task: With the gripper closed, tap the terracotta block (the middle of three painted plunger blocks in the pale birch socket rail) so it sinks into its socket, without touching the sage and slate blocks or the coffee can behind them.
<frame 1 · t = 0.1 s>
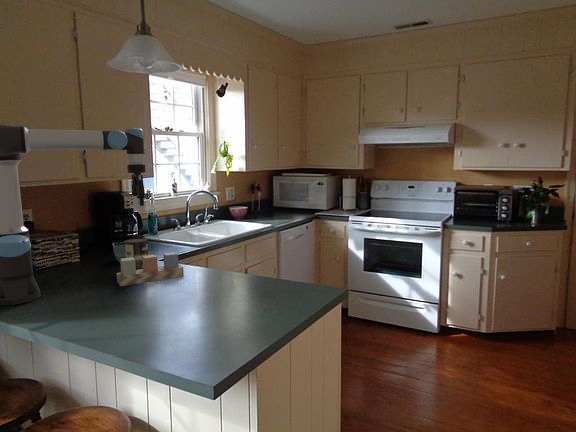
hand: (139, 211, 197), 28 cm above the worktop, fingers open, 13 cm apart
sage block: (128, 267, 183), point 7 cm above the worktop, slide at 0.0 cm
socket rail: (151, 279, 188), on the worktop
slate block: (171, 261, 192), point 7 cm above the worktop, slide at 0.0 cm
coffee can: (138, 270, 205), on the worktop
flower pot: (123, 261, 224), on the worktop
terracotta block: (150, 264, 187), point 7 cm above the worktop, slide at 0.0 cm
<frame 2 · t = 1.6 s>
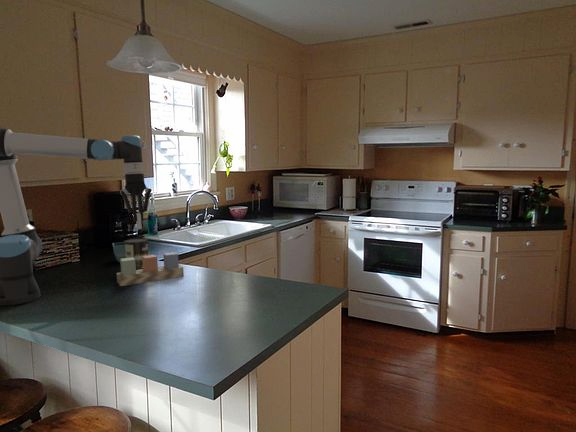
hand: (139, 228, 187), 22 cm above the worktop, fingers closed
nothing on the worktop moved.
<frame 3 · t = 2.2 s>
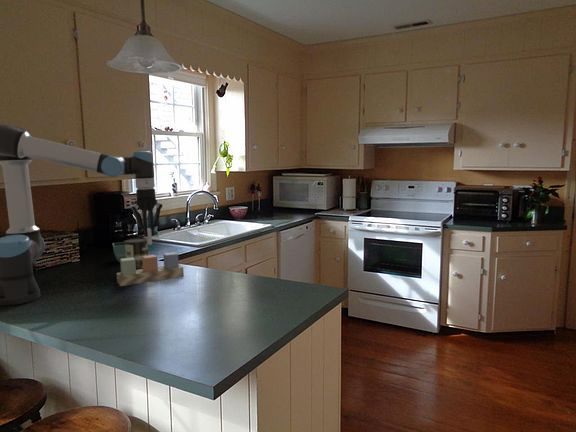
hand: (149, 243, 186), 15 cm above the worktop, fingers closed
nothing on the worktop moved.
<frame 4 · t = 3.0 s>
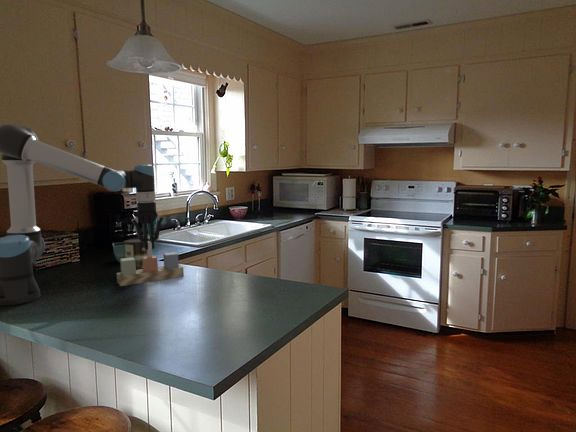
hand: (150, 256, 187), 10 cm above the worktop, fingers closed
terracotta block: (150, 265, 187), point 6 cm above the worktop, slide at 0.4 cm, touching gripper
everything else where it was.
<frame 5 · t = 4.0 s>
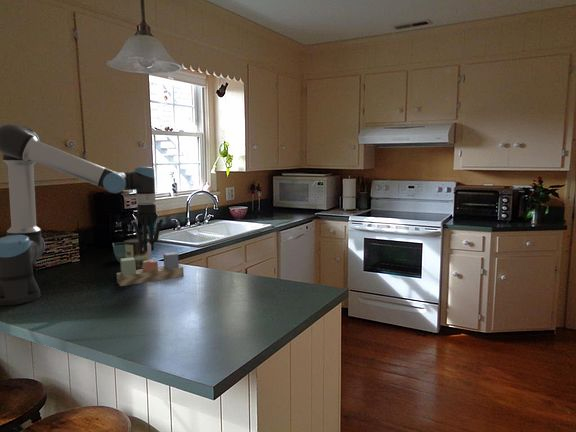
hand: (149, 258, 187), 9 cm above the worktop, fingers closed
terracotta block: (150, 269, 188), point 4 cm above the worktop, slide at 2.2 cm
everything else where it was.
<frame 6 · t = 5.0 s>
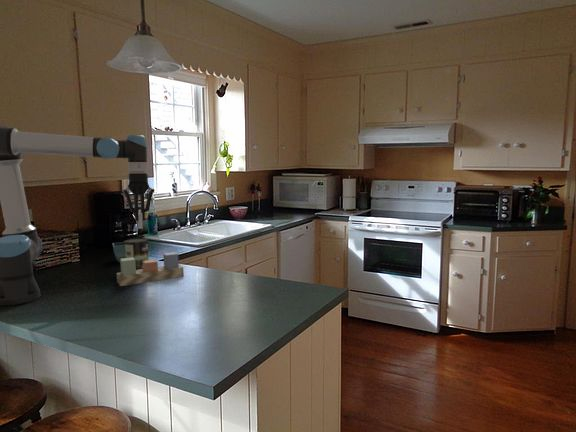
hand: (140, 228, 187), 22 cm above the worktop, fingers closed
nothing on the worktop moved.
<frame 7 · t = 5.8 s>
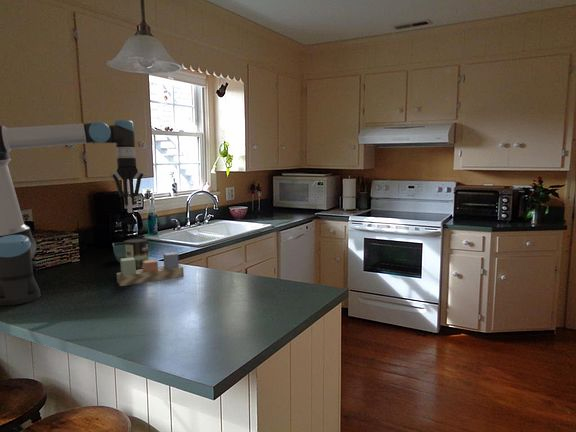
hand: (130, 212, 190), 28 cm above the worktop, fingers closed
nothing on the worktop moved.
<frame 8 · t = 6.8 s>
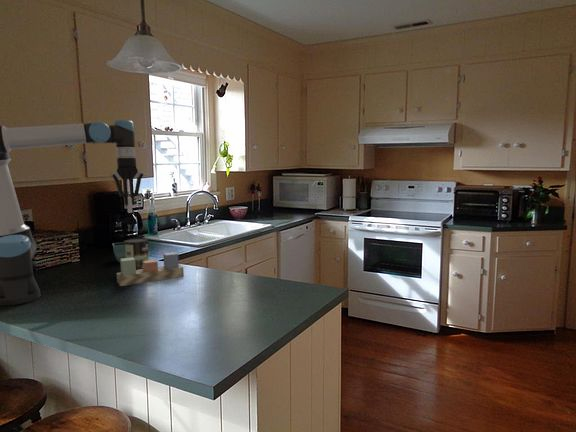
hand: (130, 212, 190), 28 cm above the worktop, fingers closed
nothing on the worktop moved.
at the end: terracotta block slide at 2.2 cm; sage block slide at 0.0 cm; slate block slide at 0.0 cm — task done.
